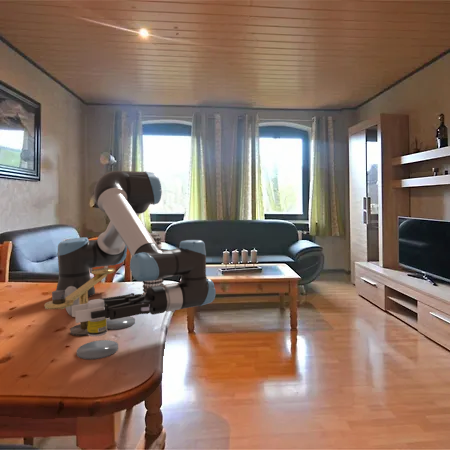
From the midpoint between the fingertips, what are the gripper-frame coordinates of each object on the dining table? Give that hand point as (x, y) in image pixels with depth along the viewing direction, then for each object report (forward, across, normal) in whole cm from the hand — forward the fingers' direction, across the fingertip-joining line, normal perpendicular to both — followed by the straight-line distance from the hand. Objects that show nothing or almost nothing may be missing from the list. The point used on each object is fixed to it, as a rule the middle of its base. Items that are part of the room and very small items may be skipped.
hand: (74, 314), depth 87 cm
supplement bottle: (-5, 0, -6) cm, 8 cm away
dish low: (-5, 0, -11) cm, 12 cm away
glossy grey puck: (-15, +18, -10) cm, 26 cm away
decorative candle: (-38, +47, -11) cm, 61 cm away
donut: (-5, +35, -11) cm, 37 cm away
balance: (-5, +17, -10) cm, 21 cm away
